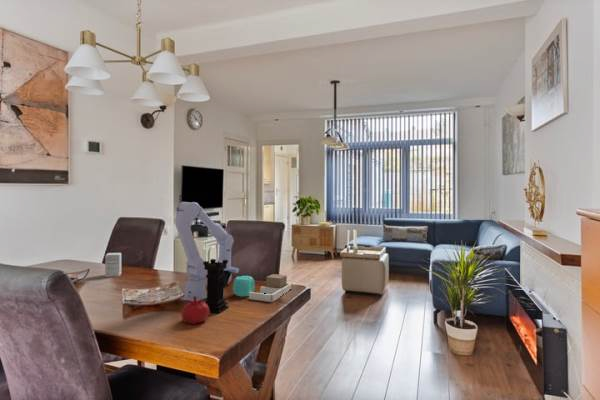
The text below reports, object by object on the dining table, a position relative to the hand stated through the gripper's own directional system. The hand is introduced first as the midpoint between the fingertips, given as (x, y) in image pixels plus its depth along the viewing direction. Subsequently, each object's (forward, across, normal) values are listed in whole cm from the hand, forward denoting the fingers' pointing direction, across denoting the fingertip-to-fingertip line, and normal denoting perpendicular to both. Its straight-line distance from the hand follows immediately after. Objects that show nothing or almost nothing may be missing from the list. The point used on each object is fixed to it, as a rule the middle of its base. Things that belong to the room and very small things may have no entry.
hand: (224, 286), depth 172 cm
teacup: (+3, +9, -13) cm, 16 cm away
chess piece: (+3, -12, +25) cm, 28 cm away
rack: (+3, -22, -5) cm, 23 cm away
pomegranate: (+3, -13, +39) cm, 41 cm away
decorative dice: (+3, -11, 0) cm, 11 cm away
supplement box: (+3, +77, -4) cm, 77 cm away
